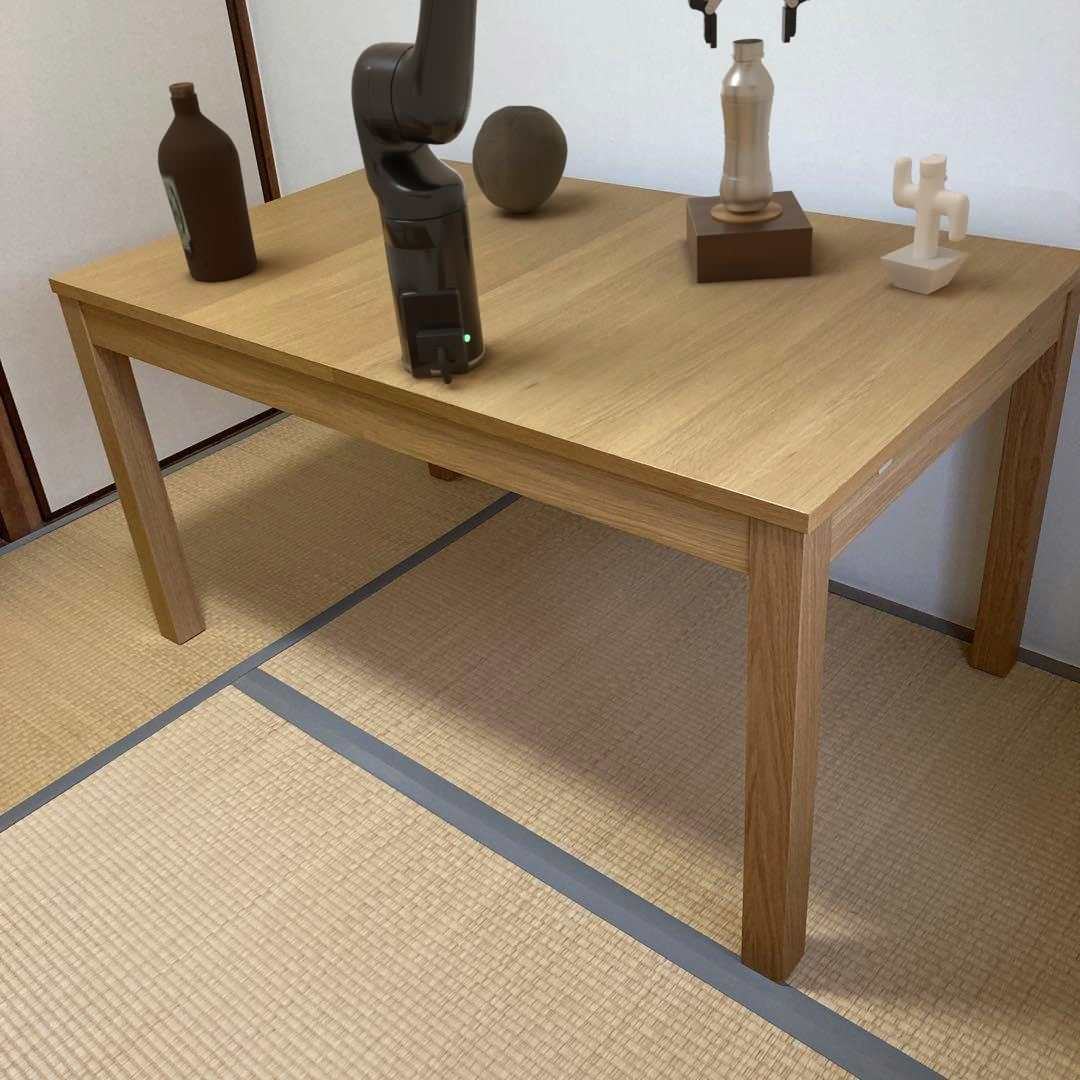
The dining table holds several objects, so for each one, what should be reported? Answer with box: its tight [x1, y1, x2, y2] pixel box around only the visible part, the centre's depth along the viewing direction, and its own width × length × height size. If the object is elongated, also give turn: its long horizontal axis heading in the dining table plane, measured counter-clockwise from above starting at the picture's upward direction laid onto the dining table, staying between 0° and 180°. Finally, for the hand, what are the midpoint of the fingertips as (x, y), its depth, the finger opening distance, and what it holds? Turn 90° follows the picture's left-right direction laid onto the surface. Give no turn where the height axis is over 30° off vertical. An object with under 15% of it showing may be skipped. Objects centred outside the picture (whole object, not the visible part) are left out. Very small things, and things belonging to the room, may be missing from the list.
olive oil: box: [157, 81, 258, 282], centre depth 157 cm, size 11×11×25 cm
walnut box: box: [685, 190, 814, 284], centre depth 149 cm, size 16×14×6 cm
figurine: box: [879, 153, 970, 296], centre depth 133 cm, size 7×9×15 cm
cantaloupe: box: [471, 105, 569, 214], centre depth 173 cm, size 14×14×15 cm
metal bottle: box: [718, 38, 775, 212], centre depth 142 cm, size 6×7×20 cm
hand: (749, 44), depth 137 cm, fingers open, 8 cm apart
